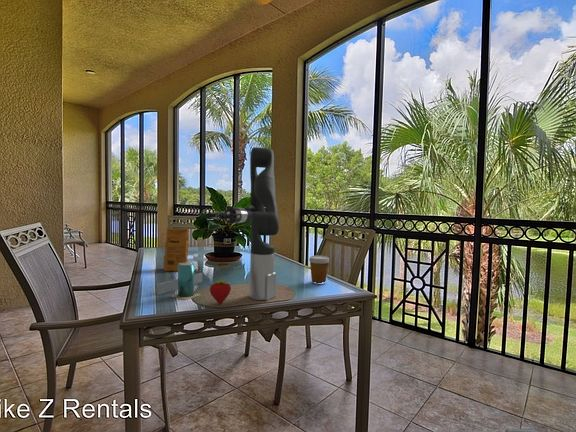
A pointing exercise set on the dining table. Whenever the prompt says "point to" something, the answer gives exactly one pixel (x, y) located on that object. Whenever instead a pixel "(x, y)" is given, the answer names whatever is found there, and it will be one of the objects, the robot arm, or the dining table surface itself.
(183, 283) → the can
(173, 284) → the acrylic wall
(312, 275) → the glass of beer
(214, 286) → the strawberry
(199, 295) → the coaster
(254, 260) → the robot arm
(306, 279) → the dining table surface
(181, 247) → the coffee package
